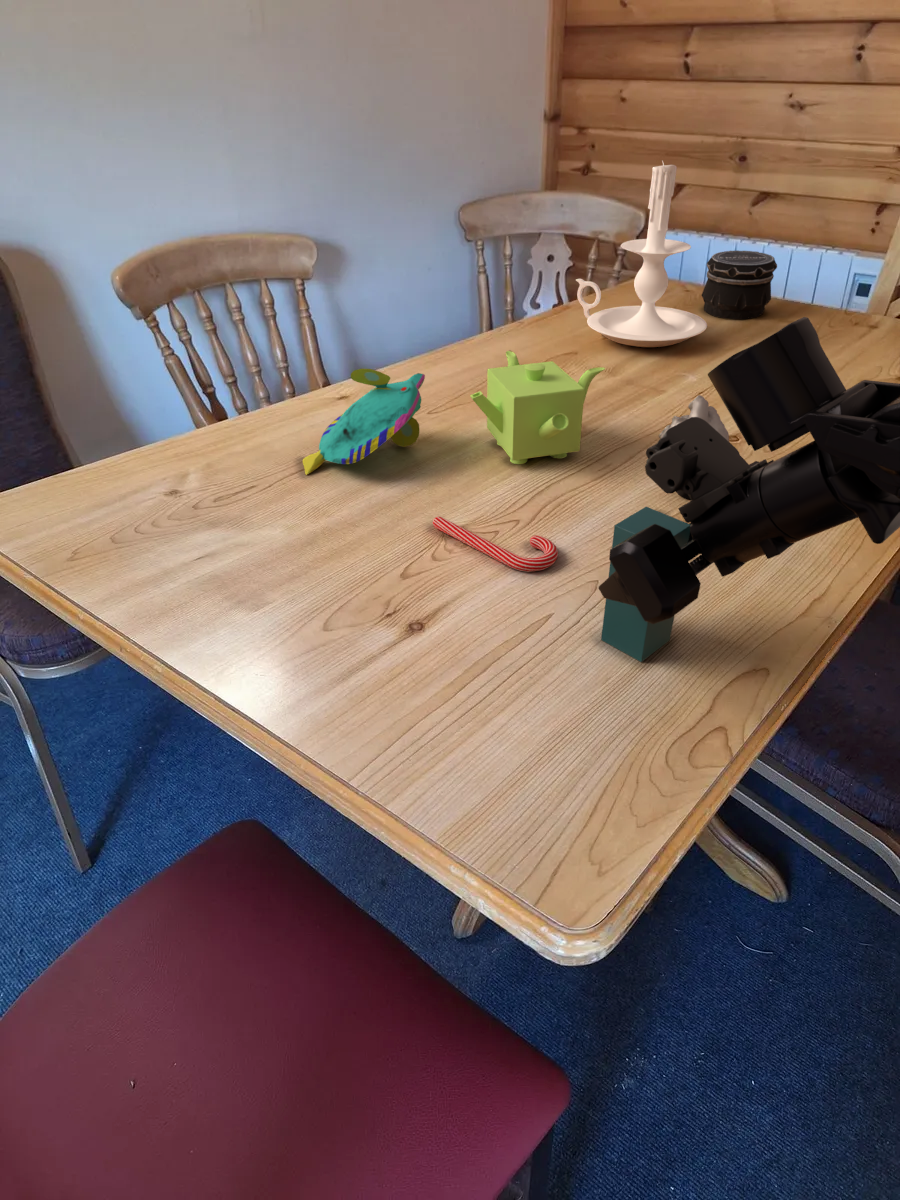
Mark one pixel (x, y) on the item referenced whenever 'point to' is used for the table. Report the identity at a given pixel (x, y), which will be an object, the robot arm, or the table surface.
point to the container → (738, 284)
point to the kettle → (534, 408)
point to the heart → (701, 416)
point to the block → (625, 620)
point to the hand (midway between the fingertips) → (635, 570)
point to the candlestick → (648, 282)
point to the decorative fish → (371, 420)
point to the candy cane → (499, 552)
